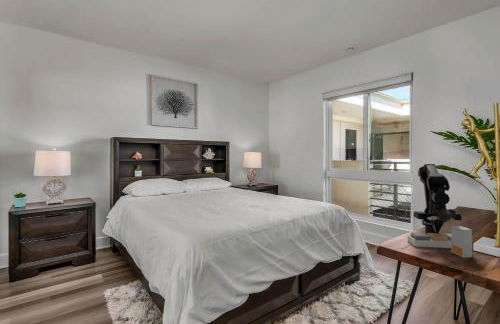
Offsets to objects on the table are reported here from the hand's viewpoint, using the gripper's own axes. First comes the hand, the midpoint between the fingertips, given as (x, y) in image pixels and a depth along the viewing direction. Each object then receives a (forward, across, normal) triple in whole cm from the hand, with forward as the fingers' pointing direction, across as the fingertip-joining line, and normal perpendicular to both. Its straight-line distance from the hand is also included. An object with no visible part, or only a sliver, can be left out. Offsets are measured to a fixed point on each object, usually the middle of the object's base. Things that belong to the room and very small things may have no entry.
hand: (437, 233), depth 125 cm
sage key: (+3, +7, 0) cm, 8 cm away
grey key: (+3, -7, 0) cm, 8 cm away
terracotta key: (+3, 0, 0) cm, 3 cm away
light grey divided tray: (+6, 0, 0) cm, 6 cm away
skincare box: (+6, +4, -13) cm, 14 cm away
